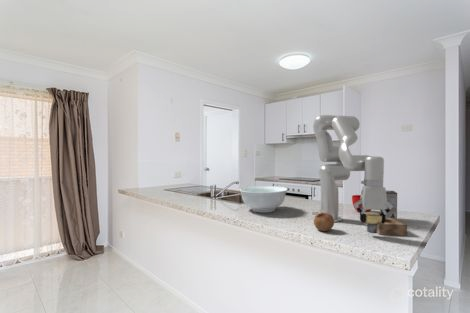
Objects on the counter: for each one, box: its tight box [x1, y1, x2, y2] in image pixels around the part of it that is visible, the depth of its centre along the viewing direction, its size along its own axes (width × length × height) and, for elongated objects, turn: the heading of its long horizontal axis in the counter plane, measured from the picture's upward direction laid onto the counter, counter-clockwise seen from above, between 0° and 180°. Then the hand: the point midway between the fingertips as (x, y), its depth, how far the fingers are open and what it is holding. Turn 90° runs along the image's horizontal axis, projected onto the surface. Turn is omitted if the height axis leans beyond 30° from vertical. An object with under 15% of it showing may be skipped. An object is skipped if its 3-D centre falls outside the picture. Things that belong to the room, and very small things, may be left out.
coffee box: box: [386, 190, 398, 220], centre depth 145 cm, size 9×6×16 cm
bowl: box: [239, 185, 288, 214], centre depth 169 cm, size 32×32×15 cm
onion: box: [313, 213, 335, 232], centre depth 124 cm, size 10×9×10 cm
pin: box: [364, 211, 382, 234], centre depth 115 cm, size 8×8×8 cm
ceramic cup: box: [351, 194, 372, 214], centre depth 163 cm, size 13×17×10 cm
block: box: [376, 218, 408, 237], centre depth 123 cm, size 12×12×5 cm
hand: (372, 222), depth 115 cm, fingers closed on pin, 7 cm apart
